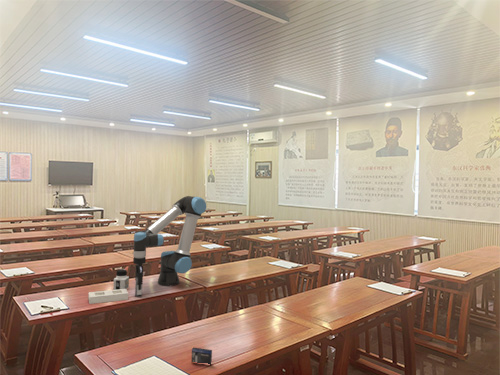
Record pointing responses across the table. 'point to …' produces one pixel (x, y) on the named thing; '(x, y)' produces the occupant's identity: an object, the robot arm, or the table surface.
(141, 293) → the pin
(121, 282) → the container
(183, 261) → the robot arm
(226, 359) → the table surface
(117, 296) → the white slotted block
